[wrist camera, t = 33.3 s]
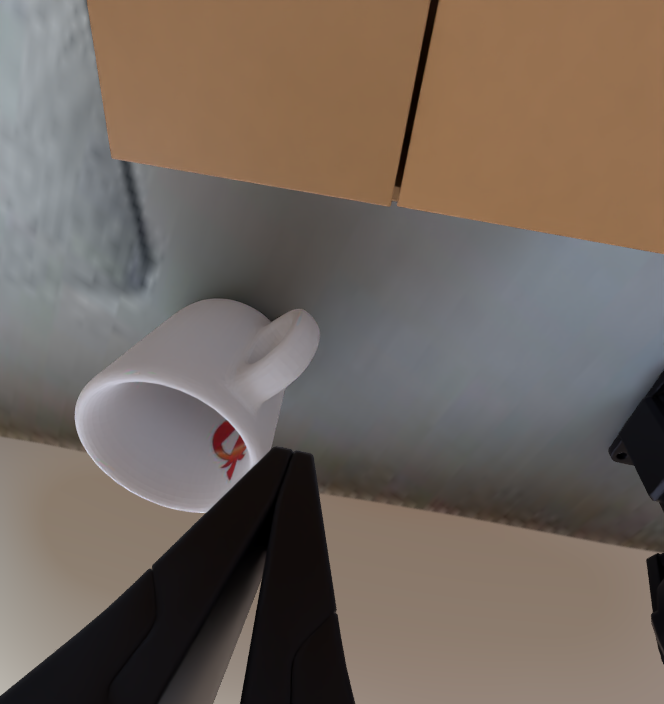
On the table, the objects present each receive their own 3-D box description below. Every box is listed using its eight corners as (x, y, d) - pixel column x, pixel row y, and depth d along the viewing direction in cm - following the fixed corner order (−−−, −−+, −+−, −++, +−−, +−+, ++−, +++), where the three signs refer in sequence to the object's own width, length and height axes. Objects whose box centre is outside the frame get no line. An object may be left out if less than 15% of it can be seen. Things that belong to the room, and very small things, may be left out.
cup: (277, 212, 20) (206, 294, 13) (379, 341, 23) (361, 459, 16) (137, 324, 25) (35, 423, 18) (235, 418, 28) (177, 532, 21)
